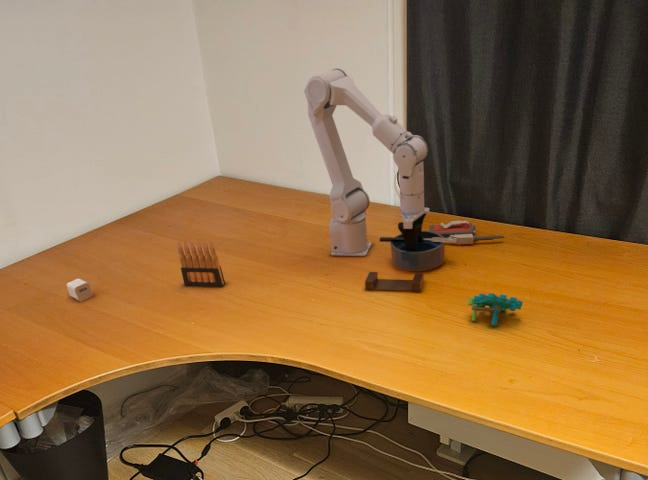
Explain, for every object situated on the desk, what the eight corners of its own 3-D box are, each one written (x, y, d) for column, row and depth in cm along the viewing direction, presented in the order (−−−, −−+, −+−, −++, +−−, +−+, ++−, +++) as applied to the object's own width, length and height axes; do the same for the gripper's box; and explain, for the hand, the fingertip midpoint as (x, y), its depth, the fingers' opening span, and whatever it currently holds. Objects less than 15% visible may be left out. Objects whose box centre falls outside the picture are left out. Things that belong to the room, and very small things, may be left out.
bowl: (387, 272, 152) (386, 252, 149) (396, 249, 162) (395, 230, 159) (441, 274, 148) (441, 253, 145) (447, 250, 159) (447, 230, 155)
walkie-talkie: (425, 247, 161) (504, 243, 159) (425, 232, 159) (505, 227, 156) (425, 234, 168) (500, 230, 166) (424, 219, 166) (500, 214, 163)
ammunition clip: (225, 283, 156) (215, 239, 149) (222, 287, 154) (212, 242, 148) (187, 282, 159) (176, 239, 152) (184, 285, 157) (172, 242, 150)
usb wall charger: (79, 302, 156) (73, 288, 153) (66, 295, 160) (60, 281, 157) (93, 295, 158) (88, 281, 156) (80, 288, 162) (75, 275, 160)
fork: (379, 242, 154) (378, 240, 153) (381, 238, 156) (380, 236, 155) (456, 243, 149) (456, 241, 148) (457, 239, 150) (457, 237, 150)
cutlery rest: (365, 290, 145) (364, 281, 144) (370, 280, 149) (369, 271, 148) (420, 292, 142) (420, 283, 140) (423, 282, 146) (423, 273, 144)
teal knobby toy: (528, 305, 129) (516, 290, 120) (524, 333, 128) (511, 320, 120) (477, 303, 135) (462, 289, 126) (473, 329, 134) (457, 317, 125)
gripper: (424, 202, 138) (425, 257, 146) (432, 180, 150) (433, 233, 157) (393, 202, 140) (396, 257, 148) (404, 181, 152) (406, 232, 159)
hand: (413, 244), depth 153 cm, fingers open, 6 cm apart
